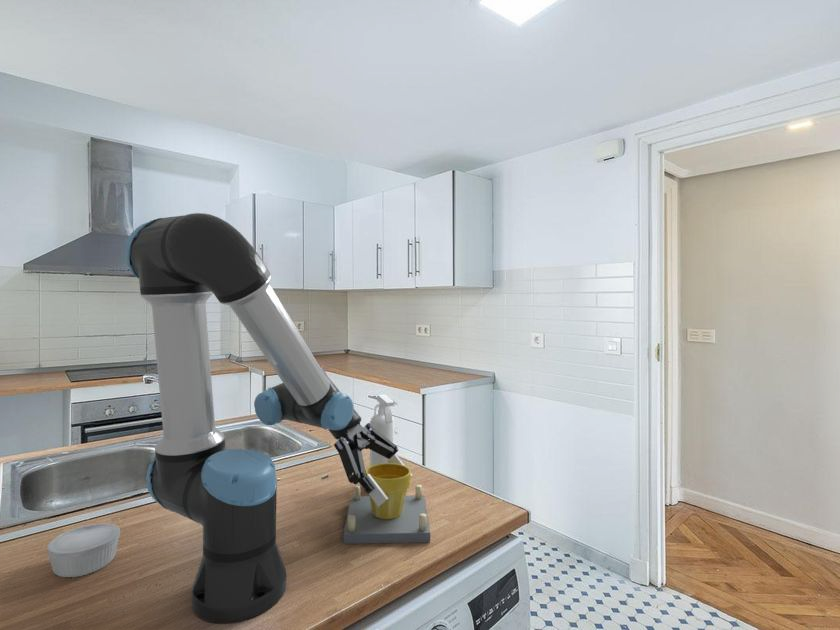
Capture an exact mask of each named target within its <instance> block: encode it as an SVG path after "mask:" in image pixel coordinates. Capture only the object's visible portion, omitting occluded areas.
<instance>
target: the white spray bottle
mask: <svg viewBox="0 0 840 630" xmlns="http://www.w3.org/2000/svg"><path fill="white" fill-rule="evenodd" d="M376 401H377V402H378V403H377V404H376V405H375V406H374V415H373V416H372V417H371V418H370V421H369V424H371V426H372V427H373V428H374V429H375V430H376V431H378V432H379V433H380V434H382V435H383V436H384V437H386V438H387V439H388V440H390V441H391V442H392V443H394V444H395V424H396V423H395V419H394V417H393V414H392V408H391V407H395V401H393V400H392V399H391V398H390V397H389V396H387V395H386V394H385V393H384V394H377V398H376ZM388 460H389V459H388V458H386V457H384V456H382V455H380V454H378V453H376V452H374V451H372V450H370V449H369V467H370V466H372V465H375V464H380V463H388V462H387V461H388Z"/></svg>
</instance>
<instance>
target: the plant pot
mask: <svg viewBox="0 0 840 630" xmlns="http://www.w3.org/2000/svg"><path fill="white" fill-rule="evenodd" d="M404 465H405V464H404ZM404 465H401V464H396V463H380V464H375V465H372V466H370V465H369V466H368V467H367V468H365V472H366V476H367V475H368V474H370V475H371V476H372V478H373V479H374V480H375V482H376V483H377V484H378V486H379V487H380V488H381V489H382V491H383V492H384V493H385V495H386V496H387V497H388V499H387V500H386V501H385V502H384V503H382V504H381V505H380V506H379V507H378V506H377V504H376V503H375V502H374V500H373V499H372V498H371V496H370V495H369V494H368V496H369V497H370V502H371V508H372V513H373V515H374V516H375V517H377V518H380V519H393V518H397V517H398V516H400V515H401V513H402V509H403V504H404V500H405V496H407V491H408V489H409V488H410V486H411V479H412V477H411V474H412V471H411V469H410V468H409V467H408V466H406V465H405V466H404Z"/></svg>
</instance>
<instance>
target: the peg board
mask: <svg viewBox="0 0 840 630" xmlns="http://www.w3.org/2000/svg"><path fill="white" fill-rule="evenodd" d="M414 489H415V492H414V493H415V495H405V500H404V504H403V509H402V513H401V515H400V516H398V517H397V518H393V519H380V518H377V517H375V516H374V515H373V513H372V508H371V502H370V497H369V495H363V496H361V485H354V486H353V496H351V497H350V501H349V507H348V511H347V515H346V521H345V526H344V531H343V544H344V545H350V544H357V545H358V544H396V543H397V544H398V543H399V544H400V543H402V544H404V543H430V542H431V529H430V523H429V522H430V521H429V516H428V510H427V503H426V497H425V495H423V486H422V484H416V485H415V488H414Z"/></svg>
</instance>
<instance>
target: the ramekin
mask: <svg viewBox="0 0 840 630" xmlns="http://www.w3.org/2000/svg"><path fill="white" fill-rule="evenodd" d="M120 536H121V529H120V526H119V525H117V524H113V523H103V522H102V523H95V524H94V523H93V524H88V525H87V524H86V525H82V526H78V527H76V528H72V529H70V530H67V531H64V532H62V533H60V534H59V535H57V536H56V537H54V538H52V540H50V541H49V543H48V544H47V547H46V552H47V555H48V557H49V561H50V562H49V563H50V565H51V570H52V572H53V573H54V574H55V575H57V576H58V577H61V578H65V577H72V578H79V577H84V576H88V575H90V574H93V573H95V572H97V570H98V571H100V570H101V568H102V569H103V568H105V567H106V566H108V565H109V564H110V563H111V562H112V561H113V559H114V558H115V556H116V554H117V550H118V549H117V548H118V543H119V537H120ZM99 569H100V570H99ZM92 572H93V573H92ZM89 573H90V574H89ZM83 575H84V576H83ZM78 576H79V577H78Z"/></svg>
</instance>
